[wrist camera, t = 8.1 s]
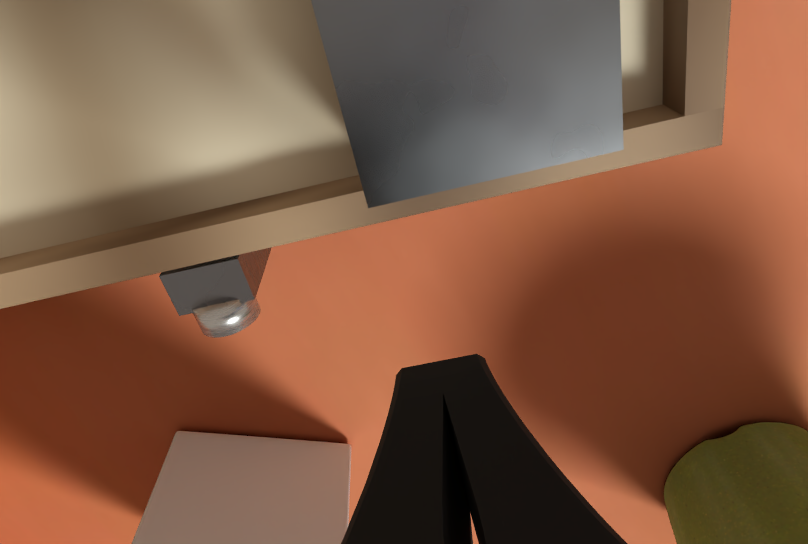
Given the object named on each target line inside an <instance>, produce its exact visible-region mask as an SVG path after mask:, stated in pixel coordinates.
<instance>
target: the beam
mask: <svg viewBox="0 0 808 544" xmlns="http://www.w3.org/2000/svg"><path fill="white" fill-rule="evenodd" d="M730 12H731V0H620V29H621V68H622V107H623V146H624V150H620V151H616V152H612V153H607V154H603V155H599V156H594V157H590V158H586V159H581V160H577V161H572V162H568V163H564V164H559V165H555V166H551V167H546V168H542V169H538V170H533V171H529V172H525V173H520V174H516V175H511V176H507V177H503V178H498V179H494V180H490V181H485V182H481V183H477V184H472V185H468V186H463V187H459V188H455V189H450V190H446V191H442V192H437V193H433V194H429V195H424V196H420V197H416V198H411V199H407V200H402V201H398V202H394V203H389V204H385V205H381V206H376V207H372V208H368V206H367V202H366V199H365V195H364V191H363V188H362V184H361V181H360V177H359V173H358V170H357V166H356V162H355V159H354V155H353V151H352V148H351V144H350V141H349V137H348V133H347V130H346V126H345V122H344V119H343V115H342V111H341V108H340V104H339V101H338V97H337V93H336V90H335V86H334V82H333V79H332V75H331V71H330V68H329V64H328V61H327V57H326V53H325V50H324V46H323V42H322V39H321V35H320V31H319V28H318V24H317V21H316V17H315V13H314V10H313V6H312V2H311V0H0V309H2V308H6V307H11V306H15V305H20V304H24V303H28V302H33V301H37V300H42V299H46V298H50V297H55V296H59V295H64V294H68V293H72V292H77V291H81V290H86V289H90V288H94V287H99V286H103V285H108V284H112V283H116V282H121V281H125V280H130V279H134V278H138V277H143V276H147V275H152V274H156V273H160V272H165V271H169V270H174V269H178V268H182V267H187V266H191V265H196V264H200V263H204V262H209V261H213V260H218V259H222V258H226V257H231V256H235V255H240V254H244V253H248V252H253V251H257V250H262V249H266V248H270V247H275V246H279V245H284V244H288V243H292V242H297V241H301V240H305V239H310V238H314V237H319V236H323V235H327V234H332V233H336V232H341V231H345V230H349V229H354V228H358V227H363V226H367V225H371V224H376V223H380V222H385V221H389V220H393V219H398V218H402V217H407V216H411V215H415V214H420V213H424V212H429V211H433V210H437V209H442V208H446V207H451V206H455V205H459V204H464V203H468V202H473V201H477V200H481V199H486V198H490V197H495V196H499V195H503V194H508V193H512V192H517V191H521V190H525V189H530V188H534V187H539V186H543V185H547V184H552V183H556V182H561V181H565V180H569V179H574V178H578V177H583V176H587V175H591V174H596V173H600V172H605V171H609V170H613V169H618V168H622V167H627V166H631V165H635V164H640V163H644V162H648V161H653V160H657V159H662V158H666V157H670V156H675V155H679V154H684V153H688V152H692V151H697V150H701V149H706V148H710V147H714V146H719V145H722V135H723V120H724V104H725V89H726V74H727V58H728V43H729V27H730Z"/></svg>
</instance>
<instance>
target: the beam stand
mask: <svg viewBox="0 0 808 544" xmlns="http://www.w3.org/2000/svg"><path fill="white" fill-rule="evenodd" d="M271 248H272V247H270V248H266V249H262V250H257V251H253V252H248V253H244V254H240V255H235V256H231V257H226V258H222V259H218V260H213V261H209V262H204V263H200V264H196V265H191V266H187V267H182V268H178V269H174V270H169V271H165V272H162V273H161V274H160V276H159V277H160V279H161V281H162V283H163V285H164V287H165V289H166V291H167V293H168V295H169V296H170V298H171V300H172V302H173V304H174V306H175V308H176V310H177V312H178V314H179V316H181V315H185V314H190V313H193V314H194V316H195V318H196V320H197V322H198V324H199V326H200V328H201V330H202V332H203V334H204V335H206V336H208V337H224V336H228V335H231V334H234V333H237V332H239V331H241V330H243V329H244V328H246V327H248V326H249V325H250V324H251V323H253V322H254V321H255V320H256V318H257V317H258V316H259V313H260V306H259V304H258V301H257V299H256V294H257V291H258V288H259V285H260V282H261V279H262V276H263V272H264V269H265V266H266V263H267V260H268V257H269V254H270V251H271Z"/></svg>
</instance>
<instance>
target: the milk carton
mask: <svg viewBox="0 0 808 544" xmlns="http://www.w3.org/2000/svg"><path fill="white" fill-rule="evenodd" d="M350 468H351V445H350V444H344V443H332V442H319V441H307V440H294V439H281V438H268V437H255V436H242V435H229V434H216V433H203V432H189V431H177V432H176V433H175V436H174V438H173V441H172V443H171V446H170V448H169V451H168V453H167V456H166V458H165V461H164V463H163V466H162V468H161V471H160V473H159V476H158V478H157V481H156V483H155V486H154V488H153V491H152V494H151V496H150V499H149V501H148V504H147V506H146V509H145V511H144V514H143V516H142V519H141V521H140V524H139V526H138V529H137V531H136V534H135V536H134V539H133V541H132V544H341V542H342V540H343V538H344V535H345V533H346V531H347V528H348V520H349V494H350Z"/></svg>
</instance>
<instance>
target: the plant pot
mask: <svg viewBox="0 0 808 544" xmlns="http://www.w3.org/2000/svg"><path fill="white" fill-rule="evenodd" d="M664 500H665V505H666V508H667V512H668V516H669V519H670V523H671V526H672V529H673V532H674V535H675V539H676V542H677V544H808V431H807V430H805V429H803V428H801V427H798V426H796V425H792V424H787V423H777V422H762V423H754V424H749V425H744V426H741V427H739V428H738V429H737V430H736V431H735V432H734V433H732V434H730V435H728V436H725V437H721V438H717V439H711V440H705V441H703V442H702V443H700V444H698V445H697V446H695V447H694V448H693V449H691V450H690V451H689V452H687V453H686V454H685V455H684V456H683V457H682V458H681V459H680V460H679V461H678V462H677V464H676V465H675V466H674V467H673V469H672V470H671V472H670V474H669V476H668V478H667V480H666V483H665V486H664Z"/></svg>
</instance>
